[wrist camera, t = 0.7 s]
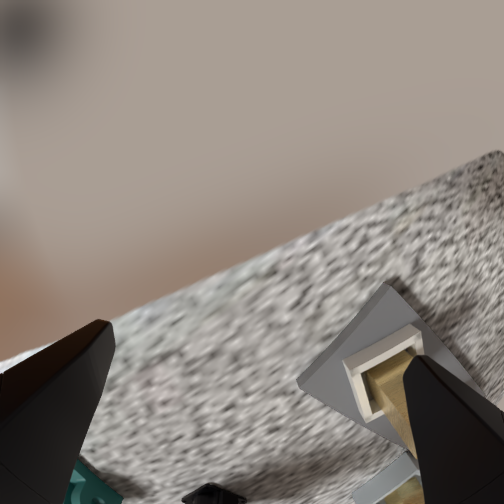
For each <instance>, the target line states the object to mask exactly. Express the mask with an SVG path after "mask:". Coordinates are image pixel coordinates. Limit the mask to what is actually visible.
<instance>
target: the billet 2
mask: <svg viewBox="0 0 504 504" xmlns="http://www.w3.org/2000/svg"><path fill="white" fill-rule="evenodd" d="M384 500H385V502H386V504H425V502H424V495H423V488H422V486H421V485H420V483H419V482H418V480H417V478H416V477H412V478H410V479H409V480H407V481H406V482H405V483H403V484H402V485H401V486H400V487H398V488H397V489H396V490H394V491H393V492H392V493H390V494H389V495H387V496H386V497H385V498H384Z"/></svg>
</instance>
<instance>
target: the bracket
mask: <svg viewBox="0 0 504 504" xmlns="http://www.w3.org/2000/svg"><path fill="white" fill-rule="evenodd" d="M122 500H123V497H122V496H120V495H119V494H118V493H116V492H115V491H114V490H113V489H111V488H110V487H109V486H108V485H106V484H105V483H104V482H103V481H102V480H100V479H99V478H98V477H97V476H96V475H95V474H94V473H92V472H91V471H90V470H89V469H88V468H87V467H86V466H85V465H84V464H83V463H81V462H80V461H79V460H78V459H77V462H76V464H75V467H74V470H73V473H72V477H71V480H70V483H69V486H68V489H67V492H66V496H65V499H64V502H63V504H121V503H122Z"/></svg>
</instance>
